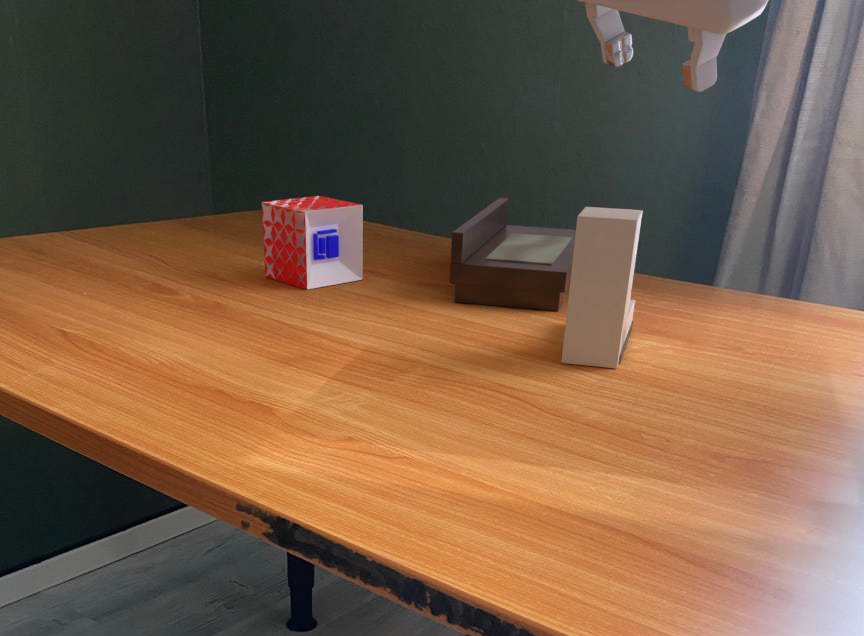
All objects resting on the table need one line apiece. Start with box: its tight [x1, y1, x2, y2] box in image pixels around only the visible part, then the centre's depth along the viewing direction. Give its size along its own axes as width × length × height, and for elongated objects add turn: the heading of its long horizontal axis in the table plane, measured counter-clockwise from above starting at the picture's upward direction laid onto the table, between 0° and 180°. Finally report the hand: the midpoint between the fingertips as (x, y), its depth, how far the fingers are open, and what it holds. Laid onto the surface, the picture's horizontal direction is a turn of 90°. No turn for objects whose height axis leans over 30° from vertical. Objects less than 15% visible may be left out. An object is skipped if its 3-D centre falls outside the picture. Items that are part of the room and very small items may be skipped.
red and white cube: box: [261, 195, 364, 290], centre depth 111 cm, size 8×8×8 cm
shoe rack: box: [449, 197, 576, 312], centre depth 111 cm, size 12×24×7 cm, turn 163°
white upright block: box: [561, 206, 644, 370], centre depth 88 cm, size 14×5×12 cm, turn 163°
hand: (657, 74), depth 72 cm, fingers open, 8 cm apart
